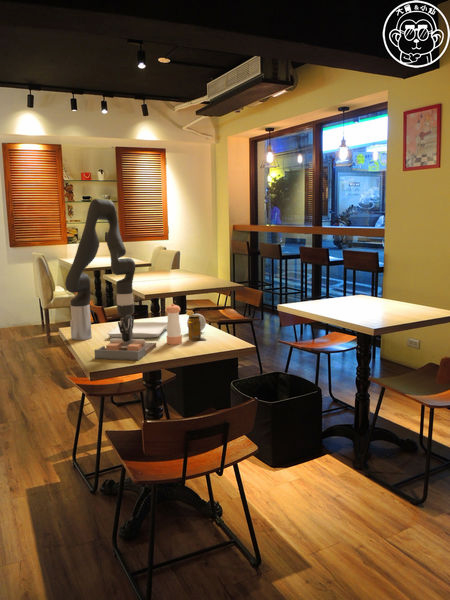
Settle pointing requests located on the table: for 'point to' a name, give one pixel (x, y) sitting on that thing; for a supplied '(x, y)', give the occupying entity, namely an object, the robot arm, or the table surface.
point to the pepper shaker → (173, 325)
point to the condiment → (194, 328)
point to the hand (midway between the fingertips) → (127, 340)
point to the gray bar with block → (130, 339)
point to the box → (119, 354)
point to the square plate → (142, 330)
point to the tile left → (113, 346)
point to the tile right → (134, 347)
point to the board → (147, 347)
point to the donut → (202, 321)
